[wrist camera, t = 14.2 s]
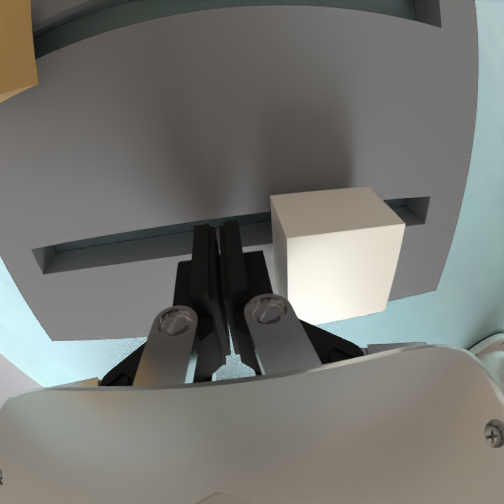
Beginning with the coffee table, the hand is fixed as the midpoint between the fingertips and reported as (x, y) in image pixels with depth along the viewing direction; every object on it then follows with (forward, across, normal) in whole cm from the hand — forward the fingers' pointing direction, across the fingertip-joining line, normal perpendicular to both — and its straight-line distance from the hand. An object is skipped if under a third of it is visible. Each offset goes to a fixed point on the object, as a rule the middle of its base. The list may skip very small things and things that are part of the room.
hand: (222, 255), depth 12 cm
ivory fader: (+4, -4, 0) cm, 5 cm away
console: (+4, 0, -5) cm, 6 cm away
